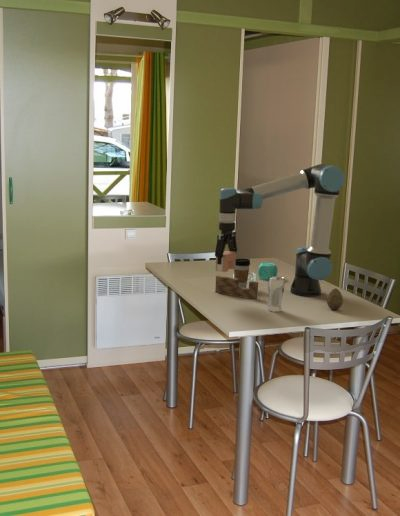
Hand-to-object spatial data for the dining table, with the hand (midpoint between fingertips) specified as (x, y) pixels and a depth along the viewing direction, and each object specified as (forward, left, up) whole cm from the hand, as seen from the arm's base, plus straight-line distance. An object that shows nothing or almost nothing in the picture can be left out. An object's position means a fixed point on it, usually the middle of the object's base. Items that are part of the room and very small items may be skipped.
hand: (225, 268), depth 322 cm
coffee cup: (+5, -26, -15) cm, 31 cm away
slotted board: (0, -12, -15) cm, 19 cm away
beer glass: (-27, +1, -15) cm, 31 cm away
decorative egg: (-48, -18, -15) cm, 53 cm away
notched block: (0, 0, 0) cm, 0 cm away
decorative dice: (+4, -55, -15) cm, 57 cm away
